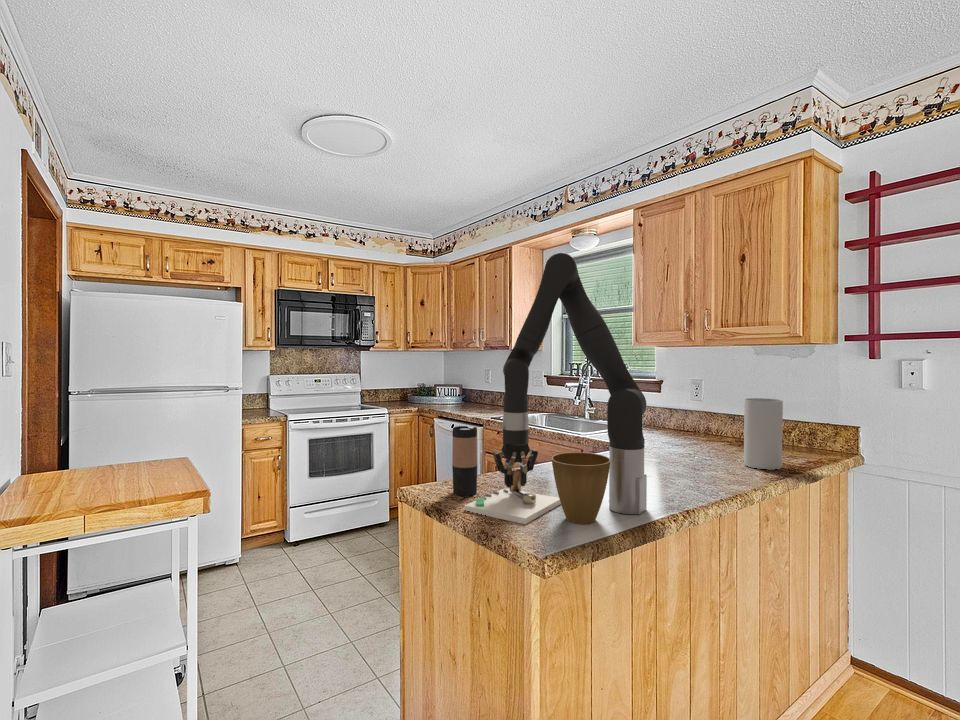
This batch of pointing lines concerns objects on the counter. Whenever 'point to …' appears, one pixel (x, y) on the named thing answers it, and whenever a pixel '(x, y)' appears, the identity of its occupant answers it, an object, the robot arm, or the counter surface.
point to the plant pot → (580, 484)
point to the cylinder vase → (763, 433)
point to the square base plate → (512, 506)
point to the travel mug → (464, 460)
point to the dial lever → (516, 487)
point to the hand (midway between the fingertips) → (515, 486)
